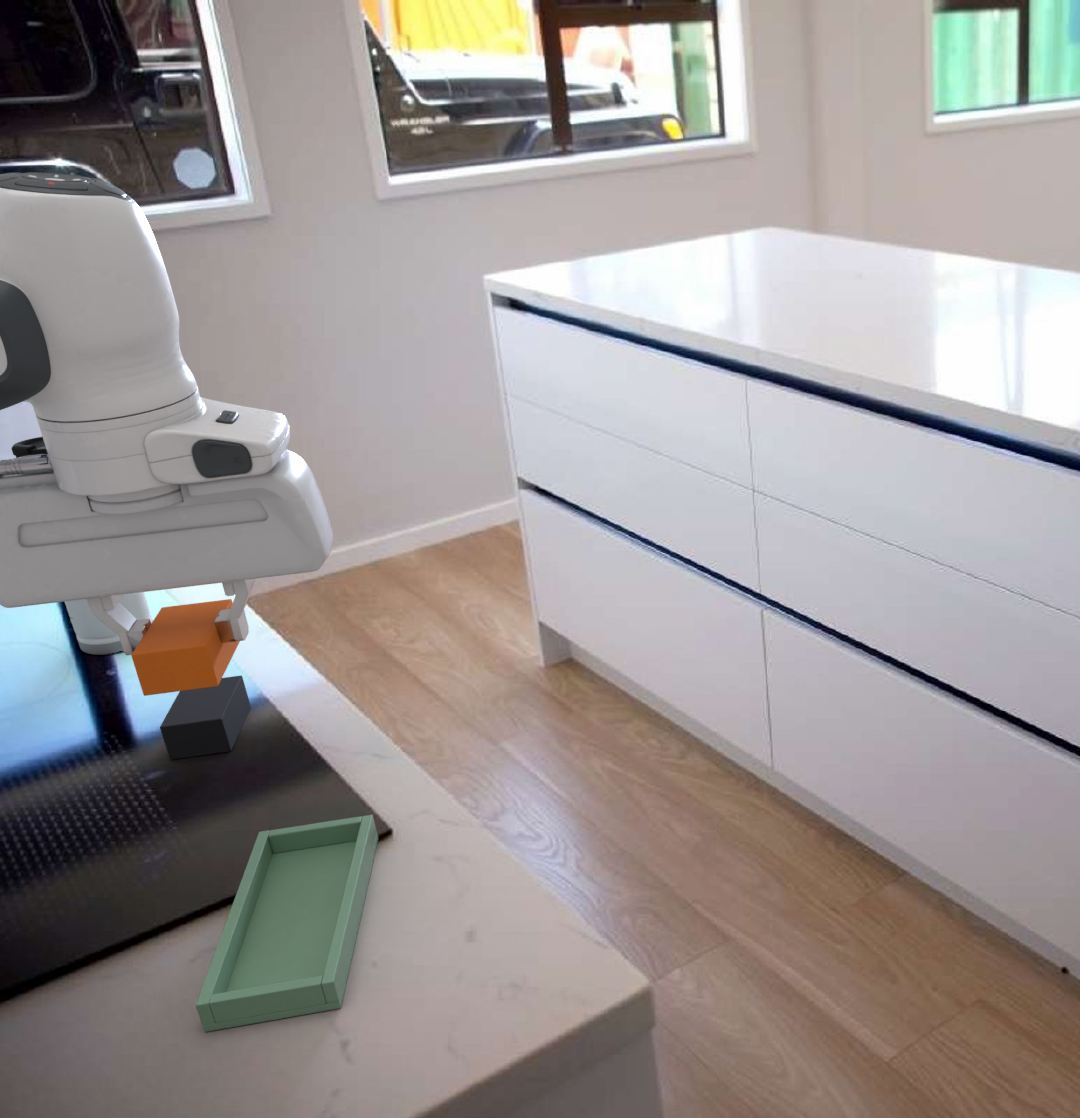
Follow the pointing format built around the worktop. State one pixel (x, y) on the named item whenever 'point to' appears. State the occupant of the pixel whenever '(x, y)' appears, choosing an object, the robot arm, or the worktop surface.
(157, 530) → the robot arm
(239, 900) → the tray
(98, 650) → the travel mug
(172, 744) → the dark grey rectangular block
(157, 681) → the orange block
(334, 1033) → the worktop surface
